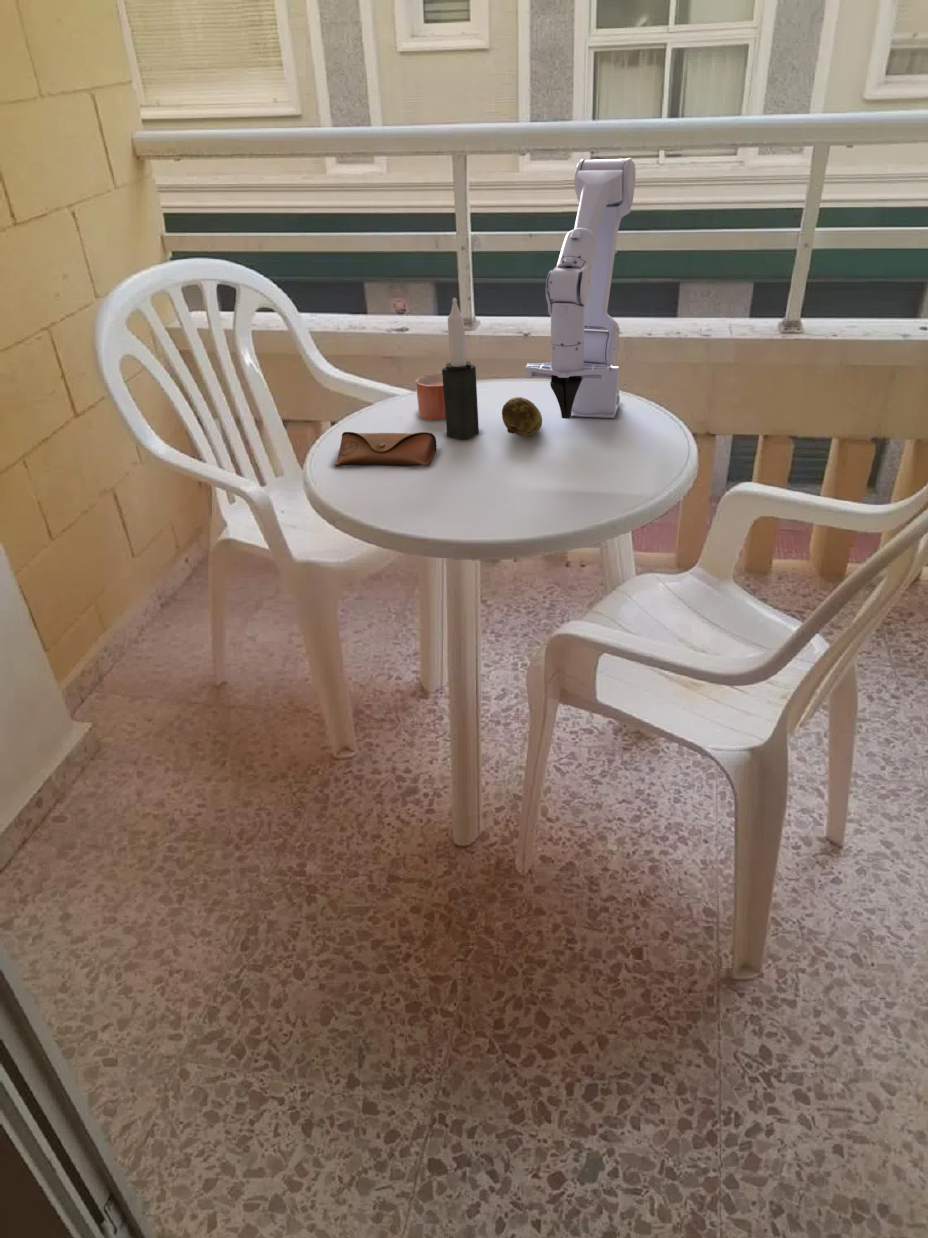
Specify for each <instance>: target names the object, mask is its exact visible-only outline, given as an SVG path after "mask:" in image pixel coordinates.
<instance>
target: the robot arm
mask: <svg viewBox="0 0 928 1238" xmlns="http://www.w3.org/2000/svg"><path fill="white" fill-rule="evenodd" d="M574 171H575V172H574V179H573V180H574V181H573V183H574V192H575V194H576V199H577V201H578V208H577V213H576V218H575V223H574V228H573V229H571V230H569V231H568V232H567V233H566V234H565V237H564V240H563V243H562V246H561V250H560V253H559V255H558V260H557V262H556V266H555V267H554V268H553V269H552V270H549V272H548V273H547V276H546V281H545V288H544V289H545V301H546V303H547V313H548V315H549V316H550V362H540V363H527V365H526V366H525V378H527V379H532V378H536V377H537V378H551V379H550V382H549V385H550V388H551V390H552V391H553V393H554V395H555V397H556V401H557V404H558V406H559V409H560V414H561V419H567V420H568V419H570V418H571V417H580V418H581V417H583V418H606V419H614V418H615V417H616V414H617V411H618V409H619V406H620V400H621V396H620V388H621V387H620V386H621V385H620V383H621V367H620V366H615V365H614V364H615V363H616V361H617V359H618V356H619V350H620V325H619V324H618V322H617V321H616V320H615V319H614V318H613V317H612V316H611V315H610V314H608V313H609V312H608V308H609V300H610V293H611V287H612V279H613V270H614V263H615V257H616V250H617V249H616V248H617V242H618V235H619V229H620V225H621V221H622V219H623V218H624V217H625V216H627V215H629V214H630V213H631V209H632V207H633V203H634V195H635V189H636V188H635V187H636V180H637V179H636V174H637V173H636V171H637V170H636V164H635V162H634V160H633V158H632V157H627V158H612V159H611V158H610V159H606V158H605V159H586V158H581V159H580V160H579V162H578V163H577V164H576V167H575V170H574ZM613 365H614V366H613Z"/></svg>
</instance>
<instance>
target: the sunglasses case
mask: <svg viewBox="0 0 928 1238" xmlns="http://www.w3.org/2000/svg"><path fill="white" fill-rule="evenodd" d="M339 445H340V446H339V450H338V456H337V460H336V461H335V463H334V465H333V466H335V467H339V466H341V467H342V466H370V467H371V466H373V467H374V466H375V467H419V466H429V465H430V464H431V463H432V462H433V460H434V459H435V457H436V454H437V450H438V449H437V439H436V436H435V435H434V434H433V433H432V432H426V431H421V432H415V433H413V432H412V433H408V432H354V431H344V432H342V433H341V440H340V444H339Z"/></svg>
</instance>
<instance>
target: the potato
mask: <svg viewBox="0 0 928 1238" xmlns="http://www.w3.org/2000/svg"><path fill="white" fill-rule="evenodd" d="M501 418H502V422H503V425H504V426H505V427H506V431H507V433H508V434H512V435H513V434H515V435H518V436H532V435H535V434H537V433H538V432H539V431H540V429H541V428H542V425H543V416H542V413H541V411H540V409H539V408H538V407H537V406H536V404H535V403H534V402H532V401H531V400H529V399H527V398H524V397H522V396H521V397H520V396H518V397H512V398H510V399H508V400H507V401H506V402H505V404H503V406H502V409H501Z"/></svg>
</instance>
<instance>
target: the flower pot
mask: <svg viewBox="0 0 928 1238" xmlns="http://www.w3.org/2000/svg"><path fill="white" fill-rule="evenodd" d="M415 386H416V387H415V388H416V398H417V399H416V400H417V409H418V410H417V411H418V417H420V418H421V419H423V420H426V421H427V420H428V421H444V420H446V417H445V404H444V390H443V377H442V372H434V373H433V372H431V373H427V374H424V375H420V376H419V377H417V378H416V380H415Z"/></svg>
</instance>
